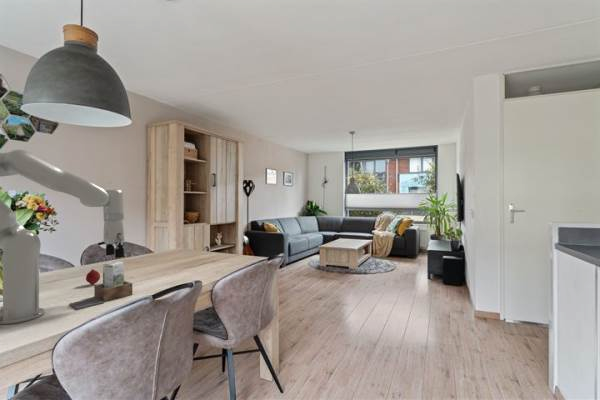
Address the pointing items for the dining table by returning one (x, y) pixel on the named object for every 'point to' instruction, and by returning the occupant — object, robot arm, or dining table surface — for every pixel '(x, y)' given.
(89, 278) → the red apple
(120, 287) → the wooden cubby shelf
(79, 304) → the mat
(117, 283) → the syrup box
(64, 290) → the dining table surface
